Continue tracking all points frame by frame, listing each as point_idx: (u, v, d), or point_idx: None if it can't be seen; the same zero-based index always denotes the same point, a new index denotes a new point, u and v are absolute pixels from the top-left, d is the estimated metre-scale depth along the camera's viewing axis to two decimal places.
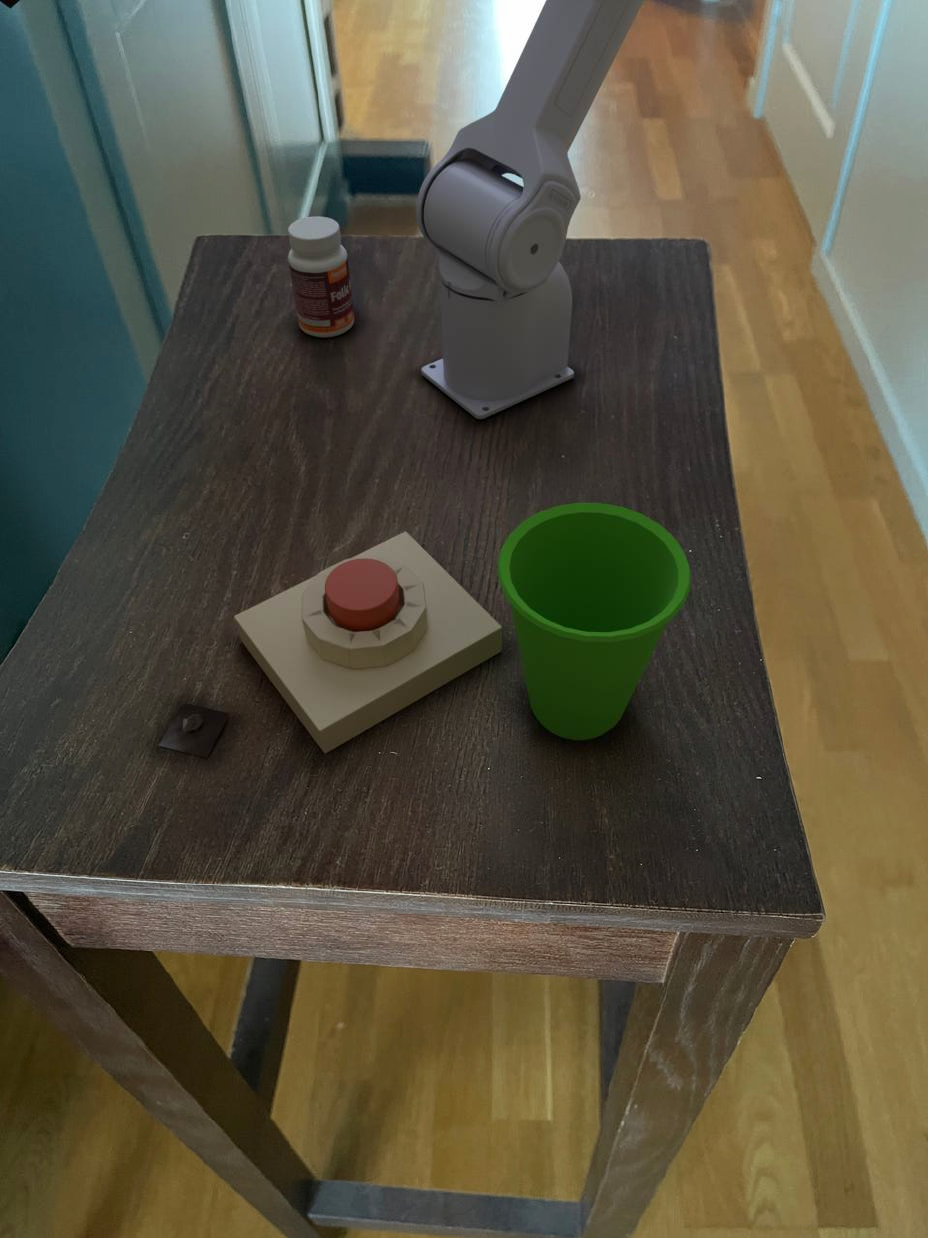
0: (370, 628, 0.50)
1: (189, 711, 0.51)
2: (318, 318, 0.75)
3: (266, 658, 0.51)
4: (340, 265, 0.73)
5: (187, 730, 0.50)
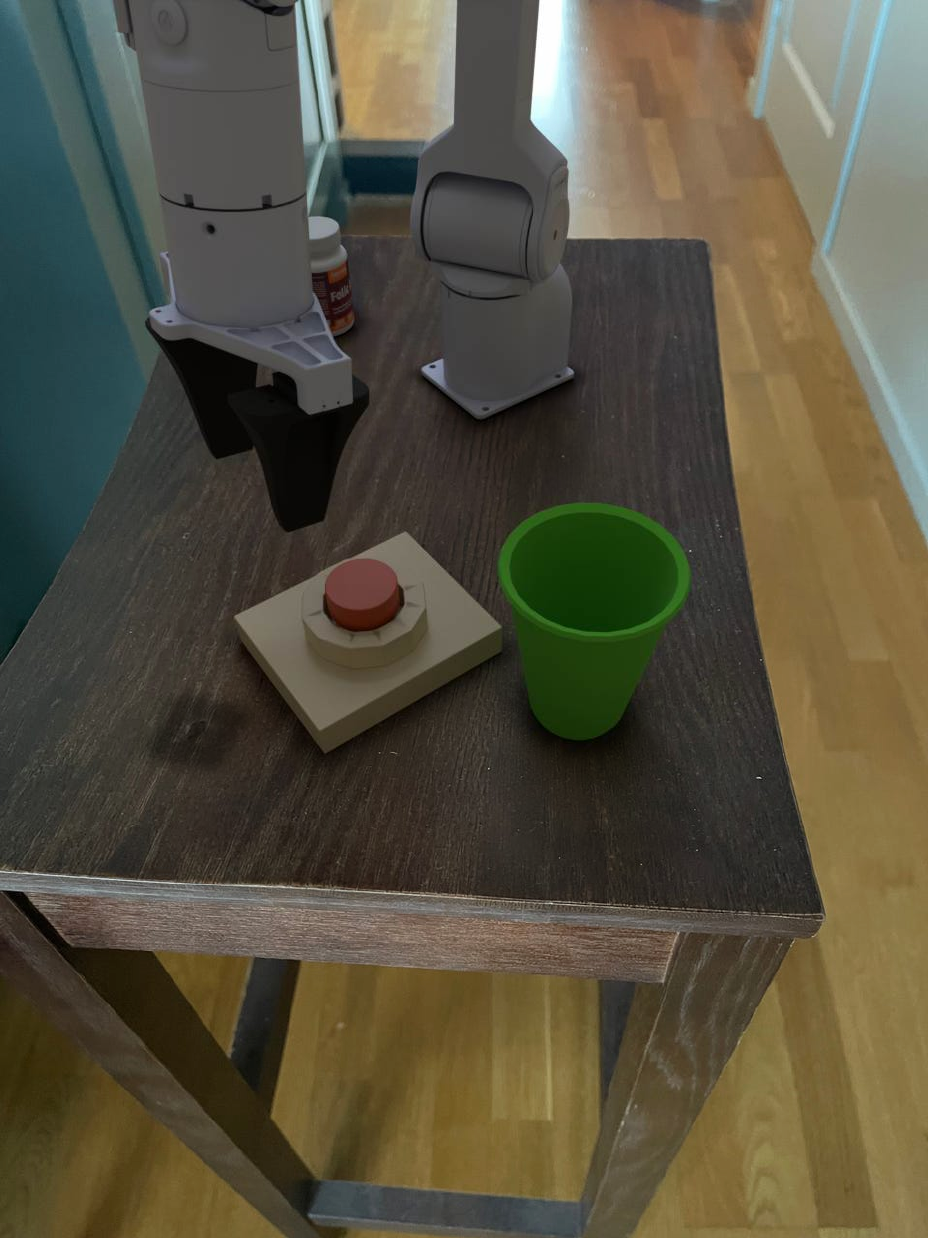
0: (370, 628, 0.50)
1: None
2: None
3: (266, 658, 0.51)
4: (340, 265, 0.73)
5: (189, 736, 0.50)
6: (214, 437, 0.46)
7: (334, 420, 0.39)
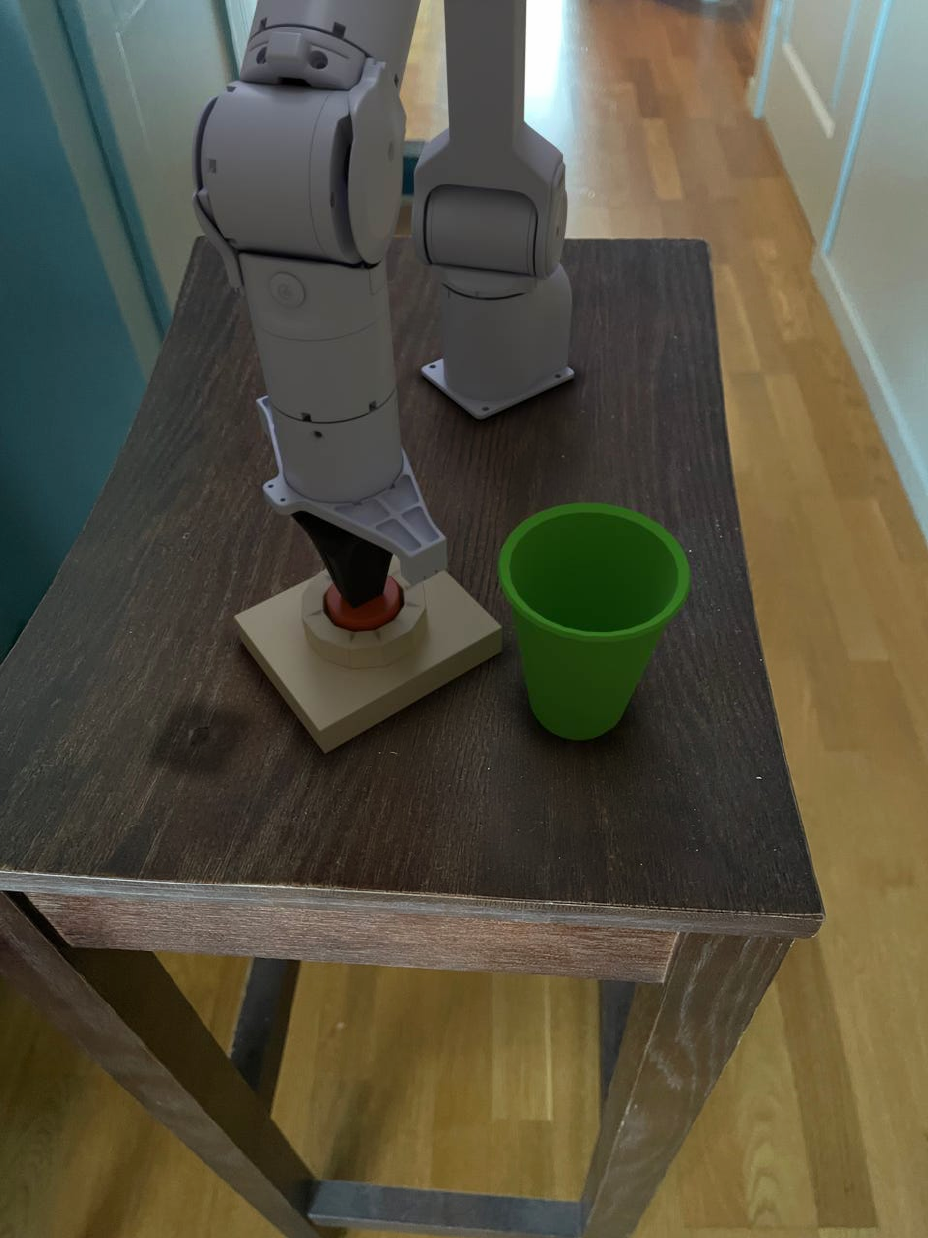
0: None
1: None
2: None
3: (266, 658, 0.51)
4: None
5: (192, 741, 0.50)
6: None
7: None
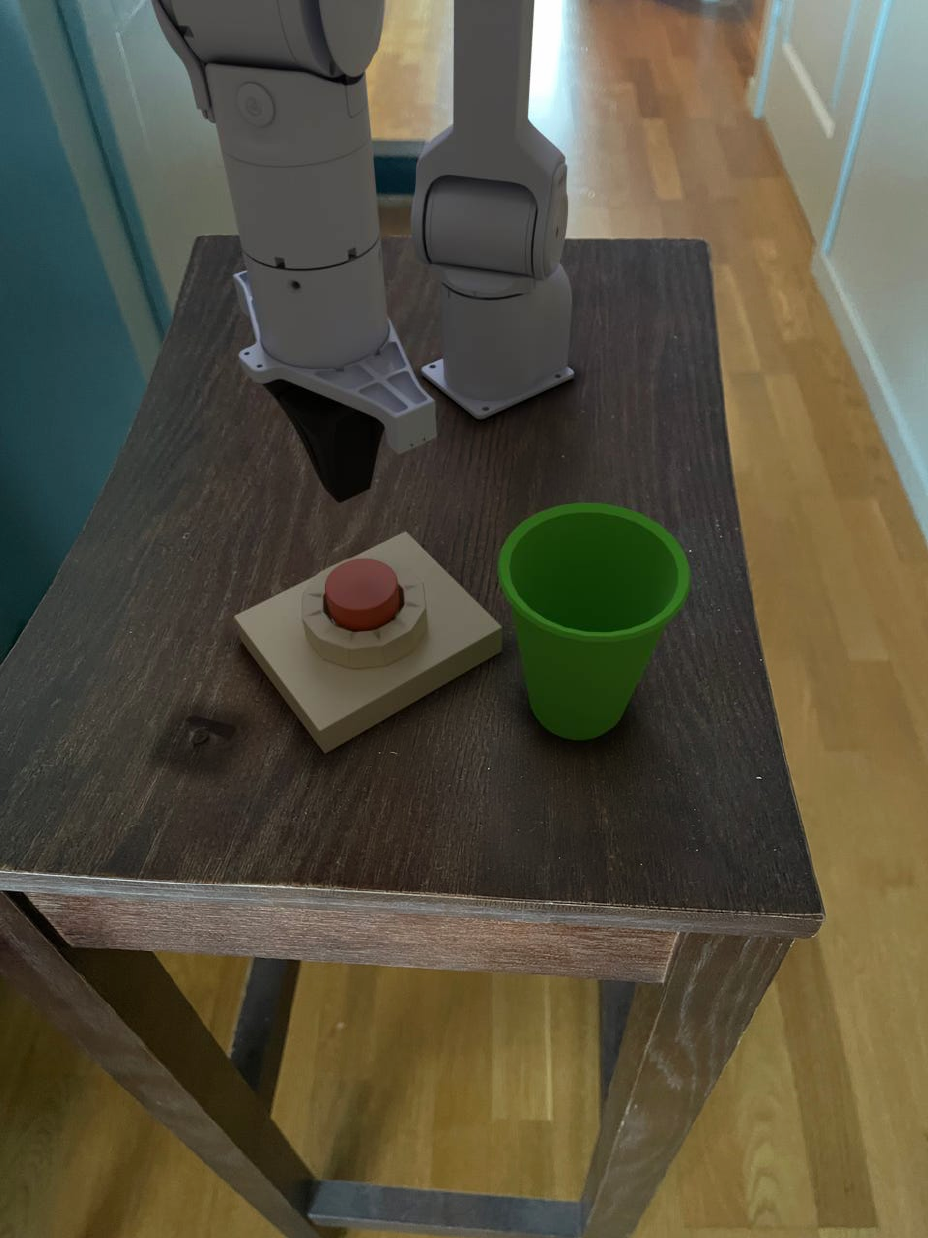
0: (370, 628, 0.50)
1: (195, 724, 0.51)
2: None
3: (266, 658, 0.51)
4: None
5: (193, 743, 0.50)
6: None
7: None
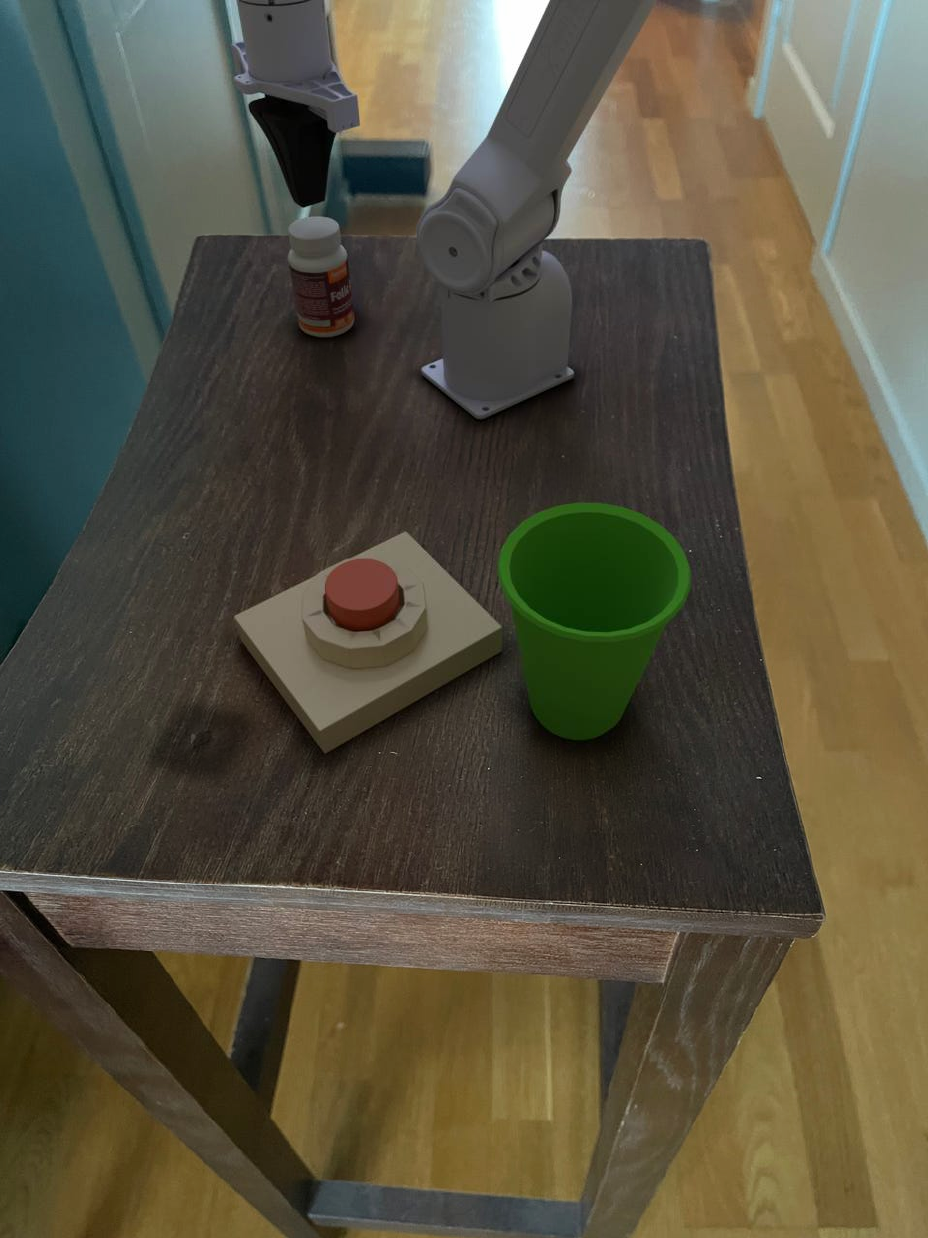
0: (370, 628, 0.50)
1: None
2: (318, 318, 0.75)
3: (266, 658, 0.51)
4: (340, 265, 0.73)
5: (195, 745, 0.50)
6: None
7: (324, 126, 0.65)
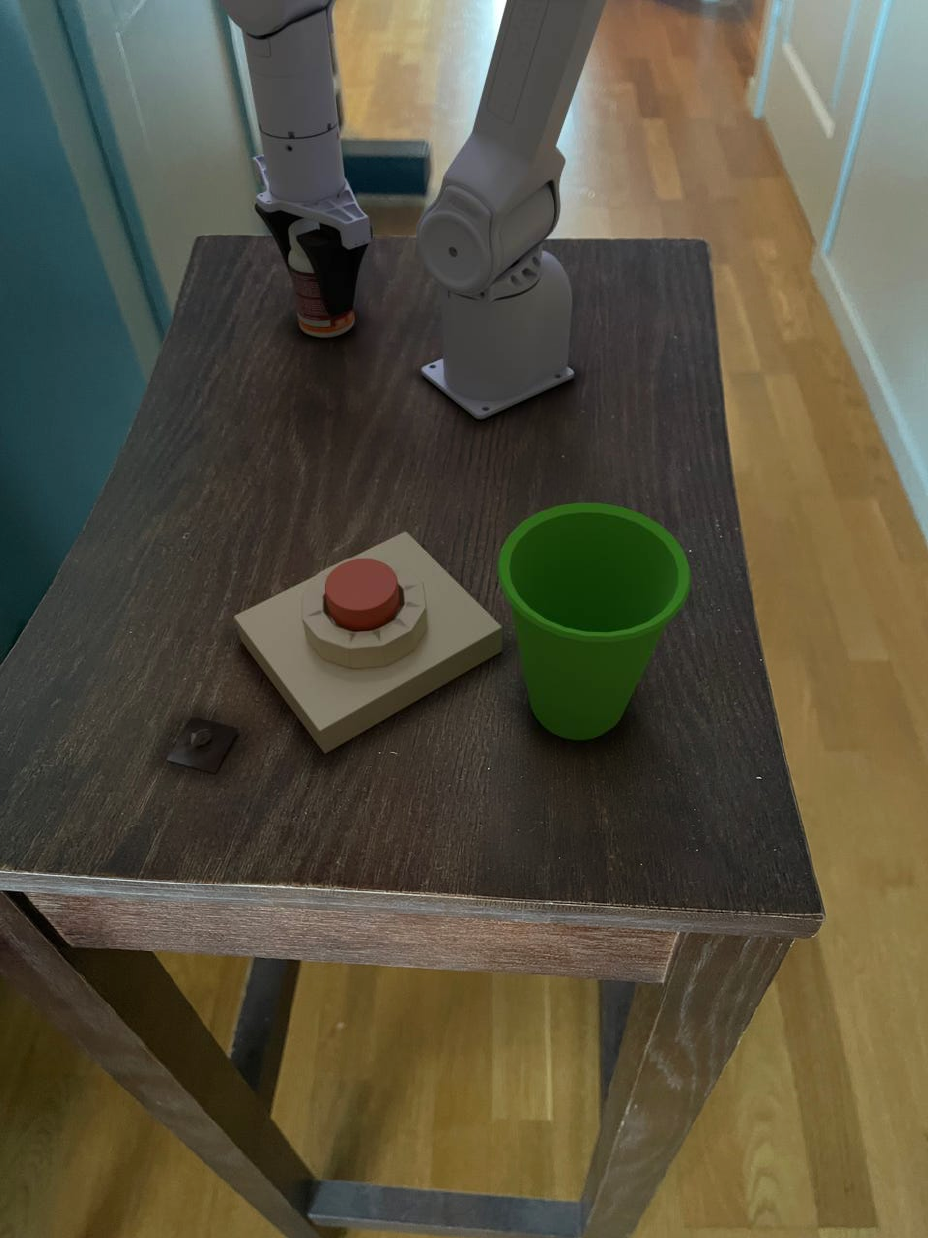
0: (370, 628, 0.50)
1: (198, 725, 0.50)
2: (319, 318, 0.75)
3: (266, 658, 0.51)
4: None
5: (195, 745, 0.49)
6: None
7: None
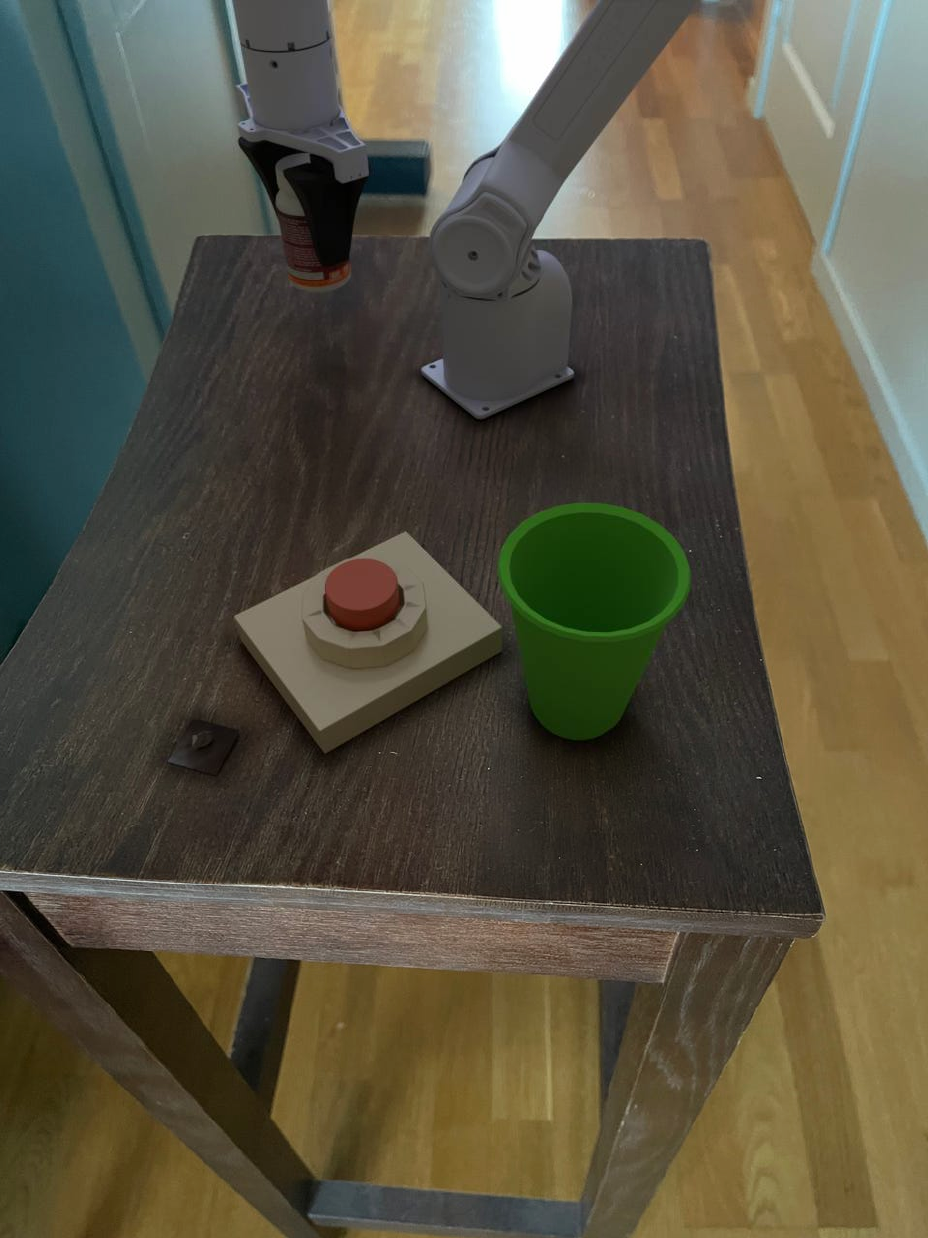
0: (370, 628, 0.50)
1: (199, 727, 0.50)
2: (310, 270, 0.66)
3: (266, 658, 0.51)
4: None
5: (196, 747, 0.49)
6: None
7: (350, 184, 0.61)
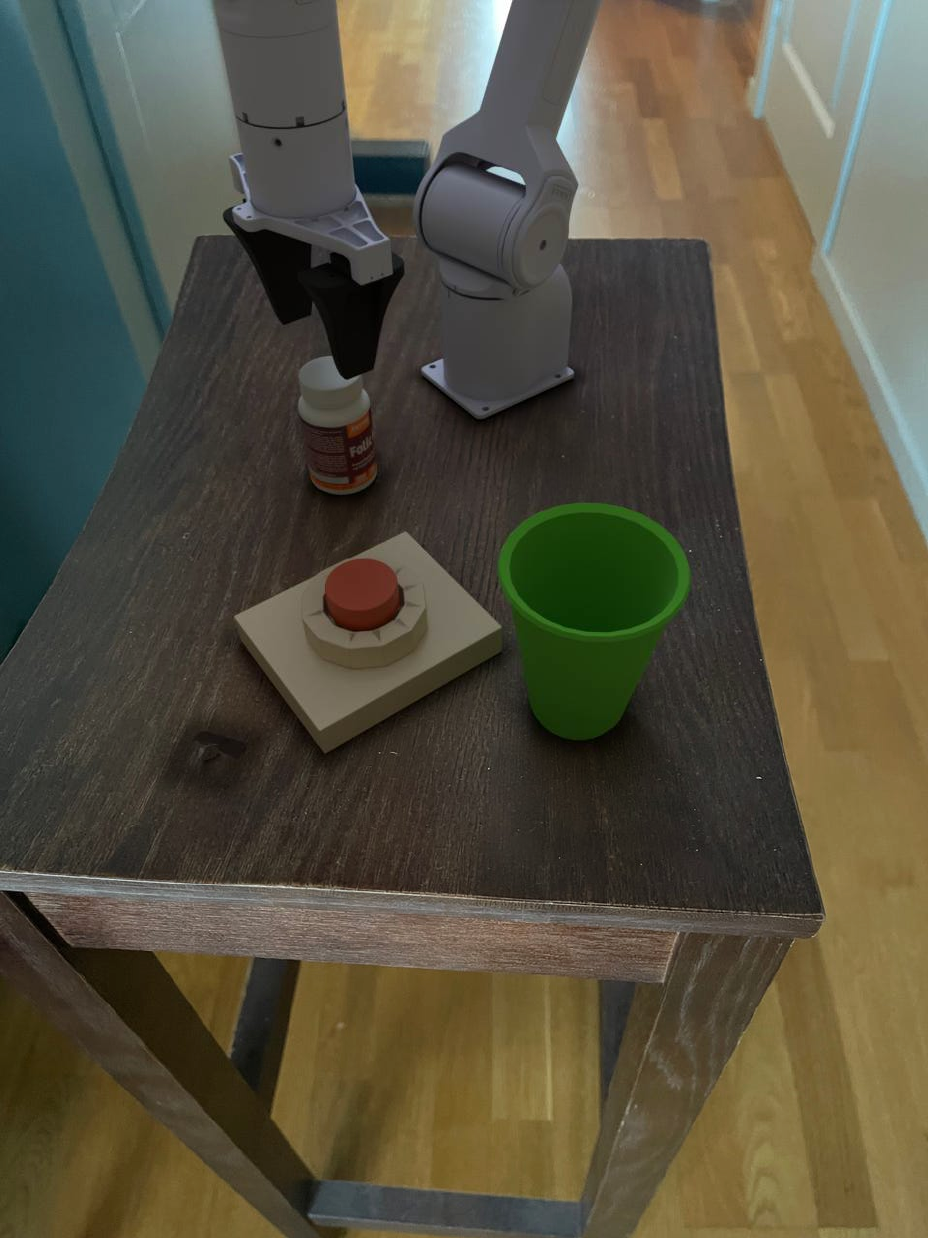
0: (370, 628, 0.50)
1: (206, 739, 0.50)
2: (335, 475, 0.62)
3: (266, 658, 0.51)
4: (362, 417, 0.59)
5: (203, 759, 0.49)
6: (281, 306, 0.57)
7: (378, 288, 0.50)
